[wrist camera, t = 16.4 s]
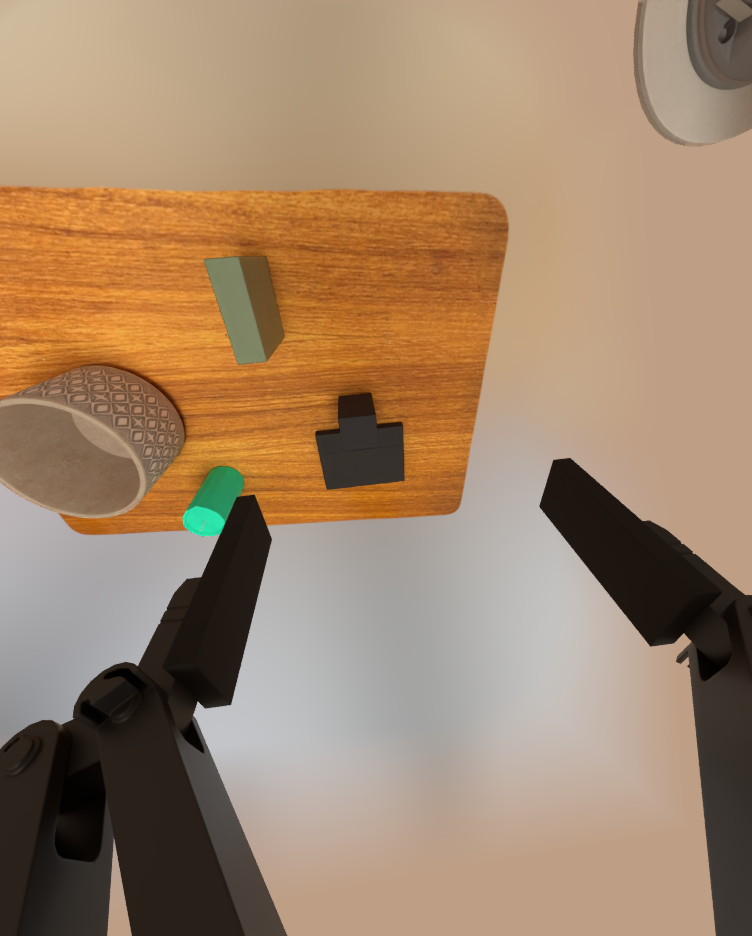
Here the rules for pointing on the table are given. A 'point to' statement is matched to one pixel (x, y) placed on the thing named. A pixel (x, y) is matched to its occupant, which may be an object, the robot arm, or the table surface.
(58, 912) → the robot arm
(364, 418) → the black rectangular block
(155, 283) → the table surface
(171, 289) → the table surface
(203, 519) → the candle
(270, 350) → the stand
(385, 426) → the pad
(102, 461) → the planter
